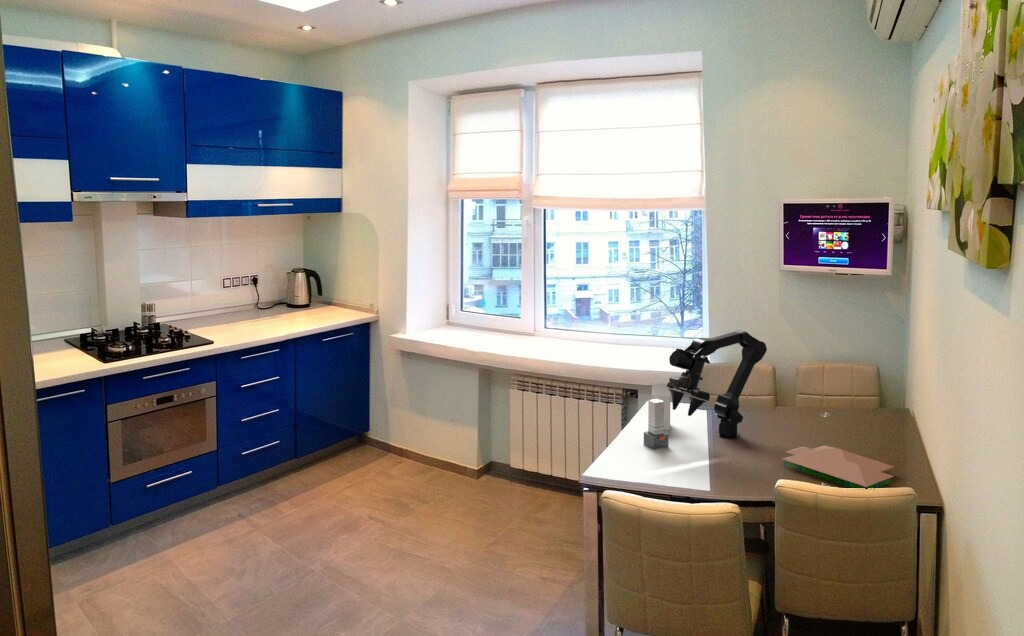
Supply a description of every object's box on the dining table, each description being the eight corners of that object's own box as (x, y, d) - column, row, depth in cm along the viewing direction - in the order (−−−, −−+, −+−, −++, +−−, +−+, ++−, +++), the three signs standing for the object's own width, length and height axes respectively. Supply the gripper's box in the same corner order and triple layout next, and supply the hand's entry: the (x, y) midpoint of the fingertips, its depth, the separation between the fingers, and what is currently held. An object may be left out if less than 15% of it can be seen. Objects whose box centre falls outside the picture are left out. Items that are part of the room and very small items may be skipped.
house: (816, 452, 263) (817, 430, 262) (907, 480, 235) (909, 455, 234) (774, 465, 251) (775, 442, 249) (865, 496, 223) (866, 471, 222)
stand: (659, 443, 276) (659, 427, 275) (675, 450, 266) (675, 435, 266) (636, 447, 272) (636, 431, 271) (652, 455, 263) (652, 439, 262)
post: (657, 433, 271) (657, 398, 269) (664, 436, 267) (664, 401, 265) (648, 434, 269) (648, 400, 267) (654, 437, 266) (654, 402, 264)
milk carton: (670, 432, 287) (670, 385, 284) (651, 432, 288) (651, 385, 286) (669, 427, 294) (670, 381, 291) (651, 426, 295) (652, 380, 292)
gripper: (661, 362, 276) (649, 402, 276) (692, 372, 259) (679, 414, 259) (684, 369, 281) (672, 408, 281) (716, 379, 264) (703, 420, 264)
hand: (681, 412), depth 271 cm, fingers open, 9 cm apart
